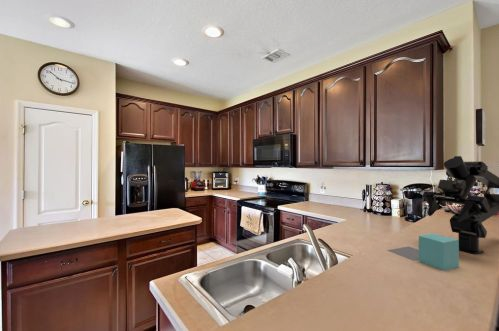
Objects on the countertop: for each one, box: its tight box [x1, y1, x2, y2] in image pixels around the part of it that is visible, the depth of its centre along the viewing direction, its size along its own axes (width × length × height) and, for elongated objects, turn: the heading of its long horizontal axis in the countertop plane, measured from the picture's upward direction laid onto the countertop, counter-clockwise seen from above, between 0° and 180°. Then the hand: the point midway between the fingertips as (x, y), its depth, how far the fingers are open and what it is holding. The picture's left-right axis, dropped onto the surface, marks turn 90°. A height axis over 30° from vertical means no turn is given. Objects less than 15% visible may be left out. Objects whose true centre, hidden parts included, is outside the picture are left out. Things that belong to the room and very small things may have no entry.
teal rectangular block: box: [418, 233, 460, 272], centre depth 74 cm, size 7×7×9 cm
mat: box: [387, 246, 419, 262], centre depth 84 cm, size 12×10×1 cm
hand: (442, 218), depth 82 cm, fingers open, 9 cm apart
